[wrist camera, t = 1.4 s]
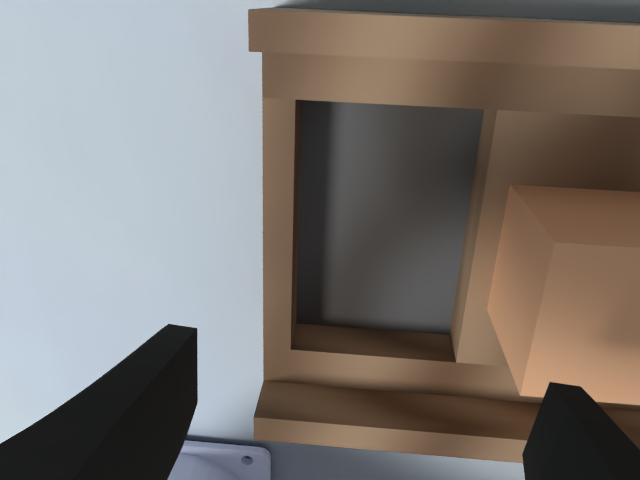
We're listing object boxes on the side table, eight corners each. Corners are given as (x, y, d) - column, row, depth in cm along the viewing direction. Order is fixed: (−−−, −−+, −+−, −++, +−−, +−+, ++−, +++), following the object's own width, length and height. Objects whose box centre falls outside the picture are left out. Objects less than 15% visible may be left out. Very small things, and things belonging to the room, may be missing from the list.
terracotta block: (487, 309, 19) (519, 395, 15) (510, 184, 17) (554, 242, 13) (621, 319, 19) (693, 409, 15) (659, 193, 17) (753, 255, 13)
